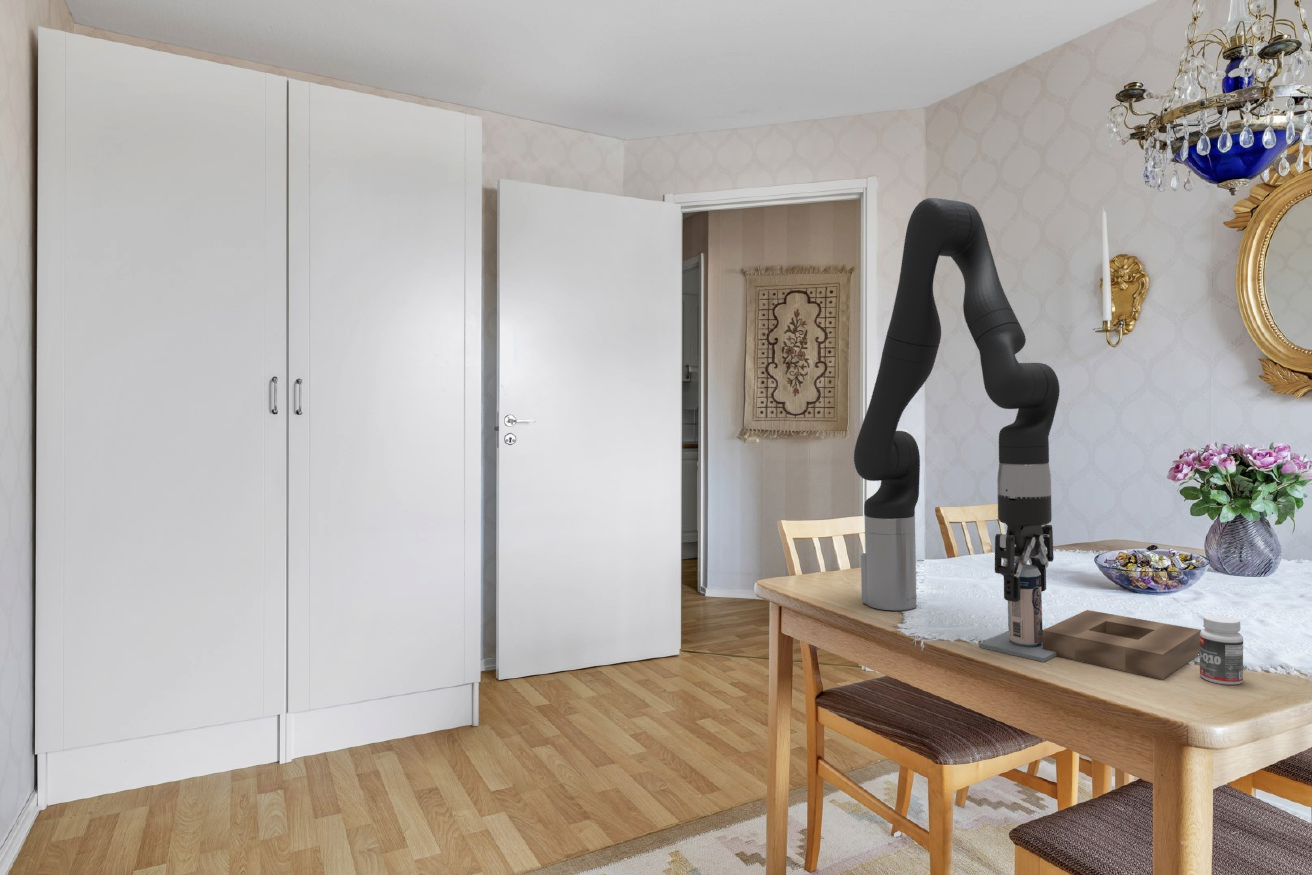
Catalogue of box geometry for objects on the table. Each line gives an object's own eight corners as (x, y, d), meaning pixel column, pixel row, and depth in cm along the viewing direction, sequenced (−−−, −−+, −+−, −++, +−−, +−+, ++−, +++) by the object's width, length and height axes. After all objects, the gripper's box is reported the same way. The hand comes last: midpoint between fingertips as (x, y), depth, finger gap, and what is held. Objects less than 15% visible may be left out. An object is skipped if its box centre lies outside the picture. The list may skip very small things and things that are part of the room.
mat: (979, 647, 121) (979, 643, 121) (1010, 633, 127) (1010, 629, 127) (1044, 662, 113) (1044, 658, 113) (1073, 646, 119) (1073, 643, 119)
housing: (1042, 652, 117) (1042, 630, 117) (1087, 630, 127) (1087, 609, 127) (1162, 679, 105) (1162, 654, 105) (1201, 652, 115) (1201, 629, 115)
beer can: (1046, 647, 117) (1044, 570, 117) (1013, 647, 118) (1010, 570, 118) (1037, 638, 122) (1035, 563, 121) (1005, 637, 123) (1003, 563, 122)
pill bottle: (1191, 674, 106) (1190, 614, 106) (1223, 672, 107) (1222, 612, 106) (1219, 686, 102) (1218, 624, 101) (1252, 684, 102) (1252, 622, 102)
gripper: (1021, 486, 126) (1023, 583, 127) (977, 494, 117) (978, 599, 118) (1069, 489, 121) (1070, 591, 121) (1026, 498, 112) (1028, 608, 112)
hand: (1025, 595), depth 120 cm, fingers open, 8 cm apart
